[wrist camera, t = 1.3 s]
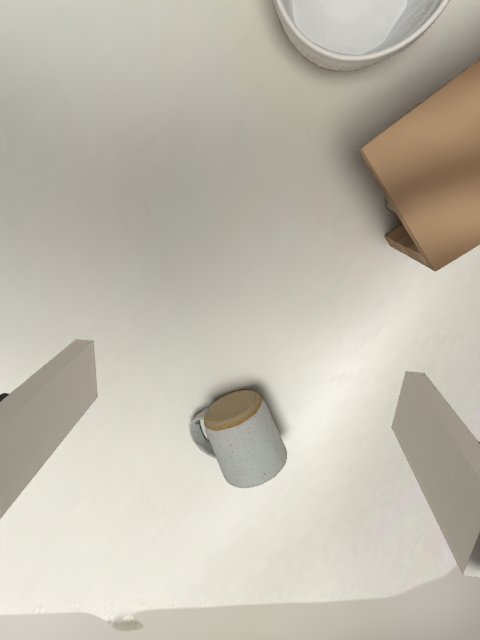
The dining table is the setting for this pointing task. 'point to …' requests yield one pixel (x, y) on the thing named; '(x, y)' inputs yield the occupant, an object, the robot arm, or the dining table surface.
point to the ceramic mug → (241, 438)
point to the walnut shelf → (433, 172)
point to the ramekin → (355, 28)
